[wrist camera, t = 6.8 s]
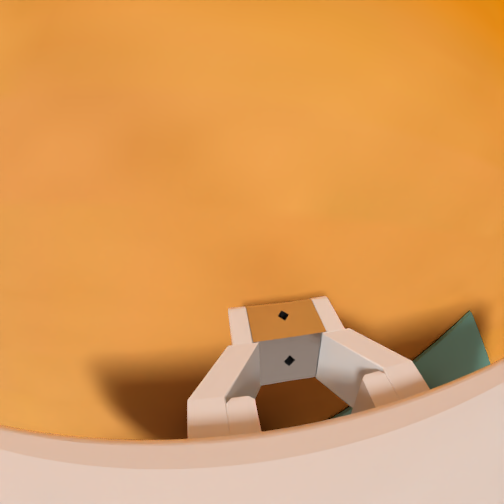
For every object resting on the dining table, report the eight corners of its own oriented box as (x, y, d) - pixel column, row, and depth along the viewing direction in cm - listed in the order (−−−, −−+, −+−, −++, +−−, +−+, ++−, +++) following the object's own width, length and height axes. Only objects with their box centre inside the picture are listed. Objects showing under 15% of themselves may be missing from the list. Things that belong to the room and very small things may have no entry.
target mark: (378, 462, 22) (379, 464, 22) (297, 438, 17) (298, 440, 16) (494, 378, 19) (495, 380, 19) (469, 310, 14) (471, 312, 14)
